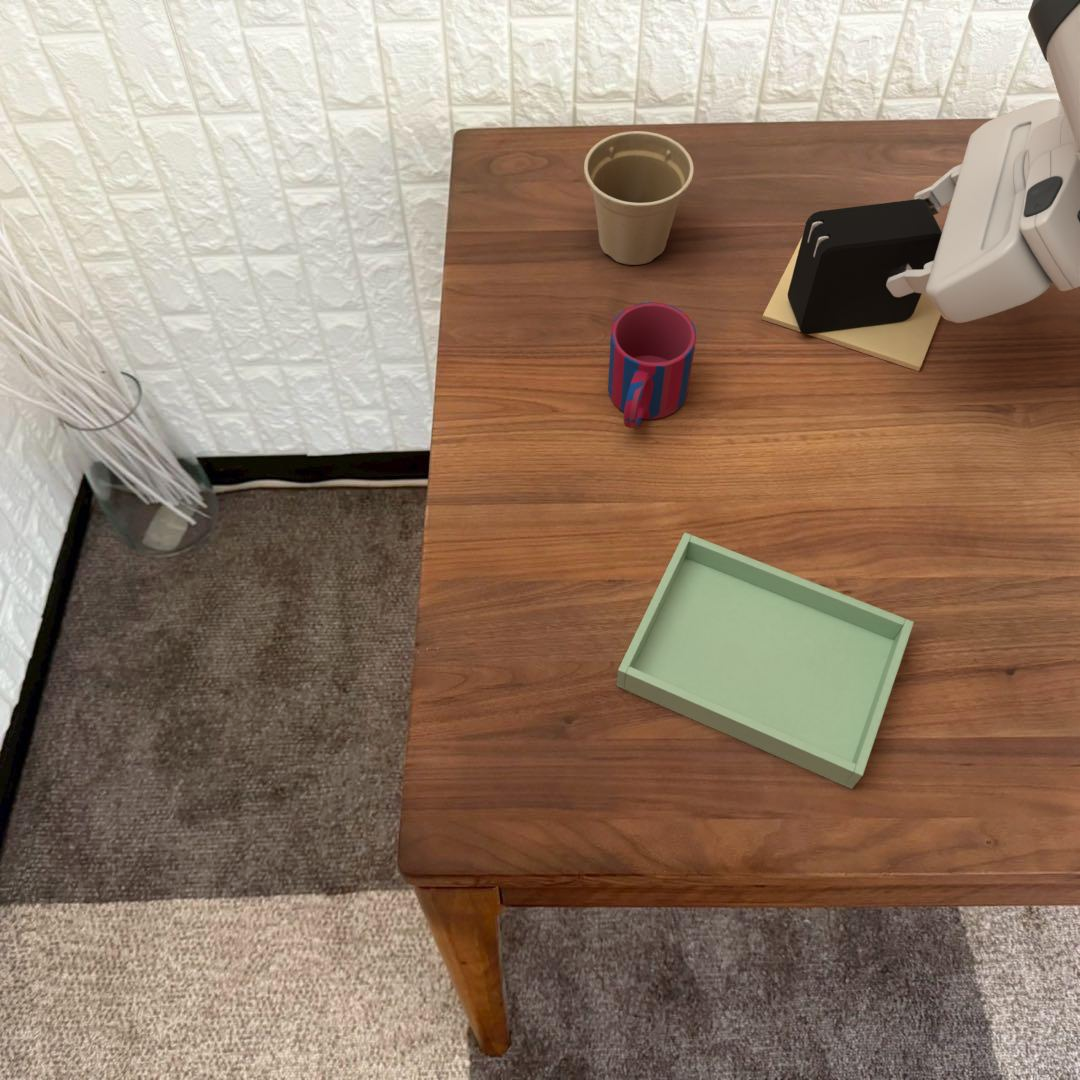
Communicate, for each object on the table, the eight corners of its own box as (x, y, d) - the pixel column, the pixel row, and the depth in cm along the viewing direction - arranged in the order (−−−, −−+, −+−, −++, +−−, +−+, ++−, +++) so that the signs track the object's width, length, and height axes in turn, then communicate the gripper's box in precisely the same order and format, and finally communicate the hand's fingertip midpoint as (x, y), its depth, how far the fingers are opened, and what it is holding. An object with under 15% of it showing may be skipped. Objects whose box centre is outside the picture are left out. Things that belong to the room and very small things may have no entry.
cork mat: (954, 277, 91) (957, 273, 91) (918, 371, 86) (921, 367, 85) (805, 232, 94) (806, 227, 94) (761, 319, 89) (762, 315, 89)
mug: (698, 372, 86) (708, 316, 80) (656, 460, 82) (663, 408, 76) (625, 348, 88) (629, 292, 82) (580, 434, 83) (581, 380, 77)
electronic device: (910, 321, 88) (948, 232, 79) (798, 336, 87) (823, 248, 79) (894, 286, 90) (929, 196, 81) (785, 301, 89) (808, 211, 81)
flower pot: (701, 261, 93) (713, 185, 85) (608, 292, 91) (611, 216, 84) (656, 197, 97) (664, 119, 90) (566, 225, 96) (566, 148, 88)
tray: (902, 639, 73) (914, 621, 71) (852, 789, 68) (862, 776, 65) (680, 551, 77) (684, 531, 75) (615, 686, 72) (617, 669, 69)
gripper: (1080, 55, 75) (910, 137, 86) (1039, 236, 66) (854, 304, 76) (1115, 120, 78) (947, 192, 89) (1081, 303, 69) (897, 359, 79)
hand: (903, 245), depth 83 cm, fingers open, 8 cm apart
